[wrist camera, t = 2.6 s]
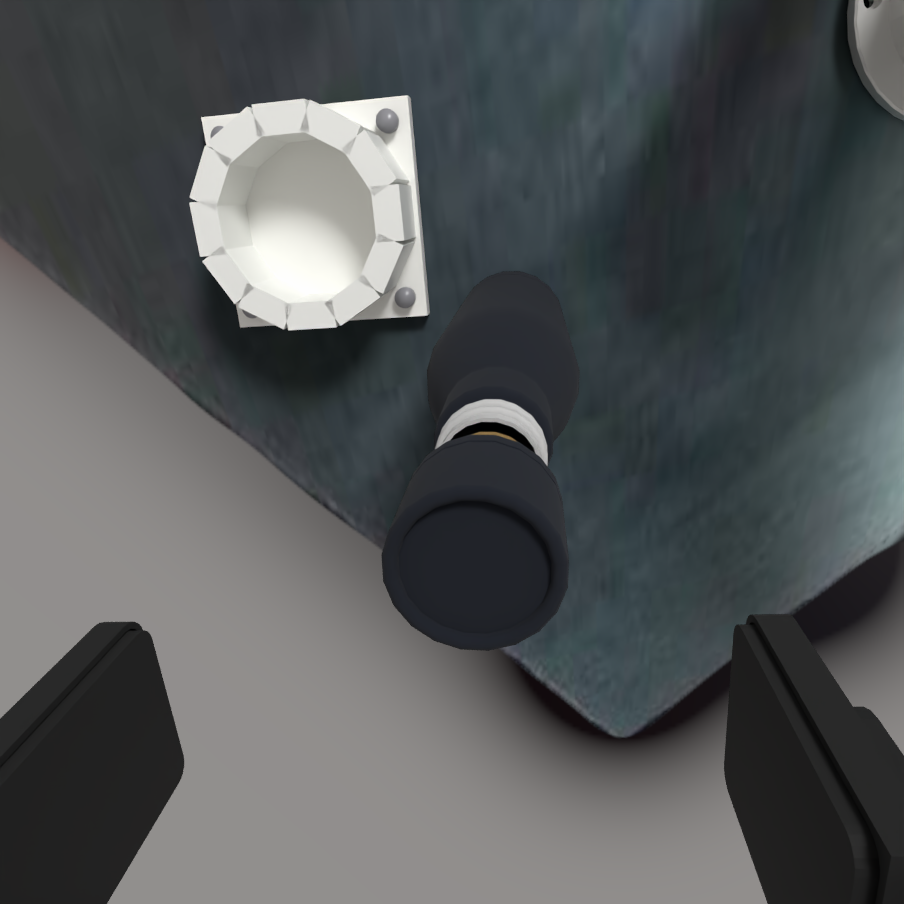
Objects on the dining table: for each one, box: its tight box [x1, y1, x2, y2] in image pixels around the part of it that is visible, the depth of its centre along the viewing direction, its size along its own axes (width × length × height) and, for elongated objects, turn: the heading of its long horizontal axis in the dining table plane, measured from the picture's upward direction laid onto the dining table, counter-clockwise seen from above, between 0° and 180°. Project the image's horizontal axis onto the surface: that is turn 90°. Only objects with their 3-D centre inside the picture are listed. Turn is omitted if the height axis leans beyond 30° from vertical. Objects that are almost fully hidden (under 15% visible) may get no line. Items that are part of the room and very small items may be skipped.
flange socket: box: [189, 95, 430, 330], centre depth 38 cm, size 12×12×5 cm
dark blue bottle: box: [382, 271, 579, 651], centre depth 28 cm, size 6×6×30 cm
